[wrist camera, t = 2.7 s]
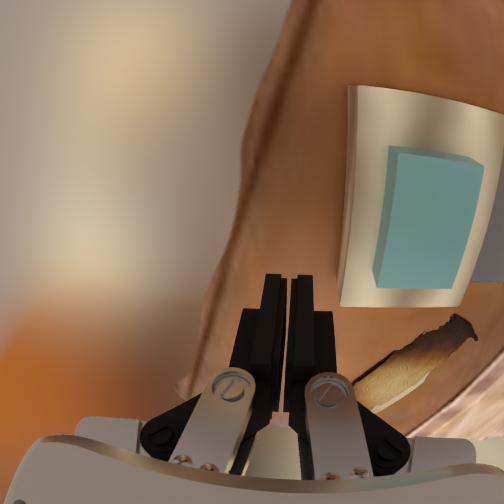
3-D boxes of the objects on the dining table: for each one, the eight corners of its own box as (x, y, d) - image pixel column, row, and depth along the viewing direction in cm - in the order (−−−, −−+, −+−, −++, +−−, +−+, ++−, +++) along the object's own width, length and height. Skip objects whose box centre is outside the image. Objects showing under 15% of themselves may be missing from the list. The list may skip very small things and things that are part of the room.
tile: (469, 157, 15) (484, 166, 13) (443, 272, 19) (451, 288, 18) (388, 145, 16) (398, 153, 14) (372, 270, 20) (376, 288, 19)
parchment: (357, 422, 40) (357, 426, 39) (309, 409, 39) (309, 414, 38) (482, 330, 27) (485, 335, 26) (442, 302, 26) (445, 307, 25)
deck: (478, 107, 16) (506, 115, 12) (444, 278, 24) (458, 306, 21) (347, 85, 17) (357, 85, 14) (336, 276, 26) (339, 306, 22)
